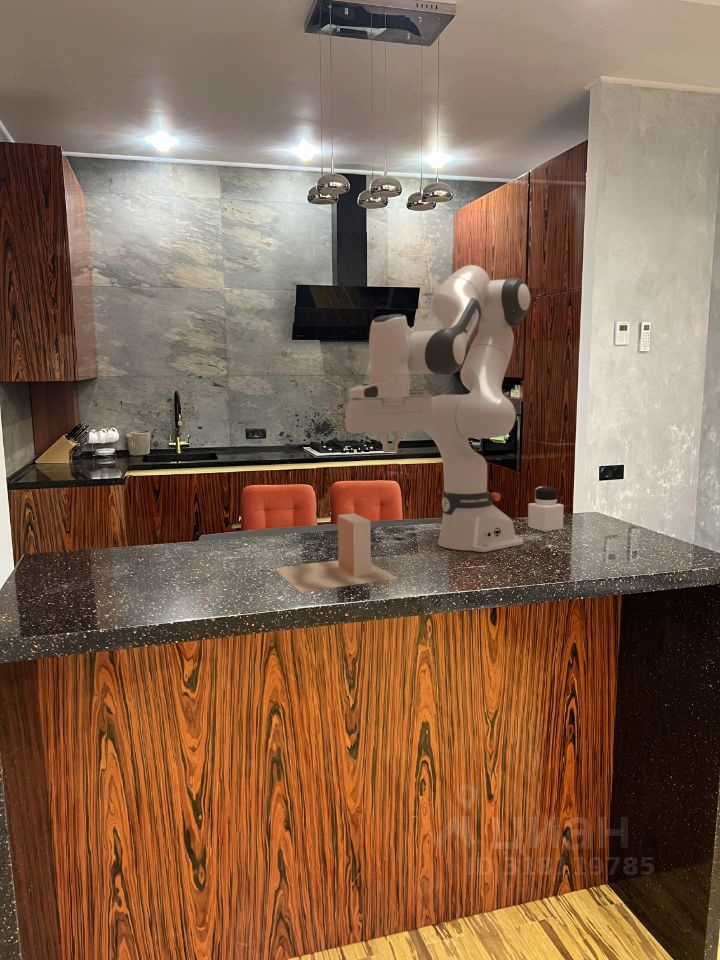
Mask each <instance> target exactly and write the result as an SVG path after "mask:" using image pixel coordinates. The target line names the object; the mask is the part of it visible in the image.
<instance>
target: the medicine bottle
mask: <svg viewBox="0 0 720 960" xmlns="http://www.w3.org/2000/svg"><path fill="white" fill-rule="evenodd" d="M534 495H535V496H534V501H535V502H532V503H530V502H529V503H528V506H527V507H528V509H527V515H528V516H527V527H530V528H529V529H532V528H533V529H532V530H536V529H537V530H538V531H540V530H541V531H540V532H545V533H546V532H547V533H548V532H553V531H559V530H564V510H565V509H564V504H562V503H557V502H558V489H557V488H556V487H553V486H538V487H536V488H535V493H534ZM552 530H553V531H552Z"/></svg>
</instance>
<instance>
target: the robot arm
mask: <svg viewBox="0 0 720 960" xmlns="http://www.w3.org/2000/svg"><path fill="white" fill-rule="evenodd" d="M531 300H532V298H531V290H530V287H529V286H528V284H527V283H526V281H525V280H524V279H521V278H515V277H508V278H506V279H494V280H490V276H489V273H487V272H486V271H485V269H483V268H482V267H481V266H478V265H475V264H467V265H465V266H462V267H461V268H458V270H456V271H454V272H453V273H452V274H451V275H449V276H448V277H447V278H445V280H444V281H443V282H442V283H441V284H440V286H439V287H438V288H437V289H436V291H435V292H434V294H433V296H432V300H431V304H432V305H431V306H432V311H433V314H434V316H435V317H436V319H437V320H438V321H439V322H440V323H441V325H443V326H445V327H447V328H441V329H433V330H432V329H430V330H414V328H411V327H410V326H409V325H408V321H407V316H406V315H405V314H401V313H393V314H387V315H380V316H377V317H375V318H374V319H373V320H372V321H371V324H370V329H369V339H368V341H369V342H368V356H369V361H370V371H369V377H368V379H369V381H367V382H365V383H362V384H360V385H357V386H353V387H351V388H350V389H349V390H348V396H349V398H350V399H349V401H348V402H347V404H346V408H345V416H344V418H345V419H344V420H345V421H344V425H345V429H346V431H347V432H348V433H350V434H367V433H370V434H371V433H377V438H378V439H379V442H380V443H381V445H382V452H383V453H397V452H398V451H399V450H398V448H399V447H398V445H399V443H400V441H401V439H402V437H403V432H408V431H410V432H411V431H424V433H426V434H427V435H428V436H429V437H430V438H431V439H432V441H433V442H434V443H435V445H436V447H437V449H438V451H439V453H440V456H441V461H442V467H443V490H442V496H441V508H442V522H441V526H440V527H441V529H440V532H439V533H440V534H439V537H438V541H437V545H438V546H440V547H442V548H446V549H448V550H449V549H450V550H458V551H473V552H480V553H481V552H482V553H486V552H490V551H496V550H501V549H505V548H509V547H510V548H511V547H515V546H520V545H524V544H525V543H524V539H523V538H522V537H520V536H518V535H516V532H515V527H514V523H513V520H512V519H511V517H509V516H508V515H506V514H505V513H504V512H503V511H501V510H500V509H499V508H498V507H497V506H495V505H494V503H493V501H496V502H499V501H500V500H501V497H502V496H501V494H500V493H499V492H491V491H488V463H487V461H486V459H485V458H484V456H482V455H481V454H480V453H478V452H477V451H475V450H474V449H473V448H472V446H471V445H470V442H469V439H493V438H499V437H504V436H507V435H508V434H509V433H510V432H511V430H512V429H513V428H514V426H515V422H516V410H515V407H514V405H513V403H512V402H511V400H510V399H509V398H507V396H505V394H504V393H503V390H502V387H503V383H504V382H503V381H504V378H505V374H506V373H507V372H506V371H507V369H508V366H509V363H510V360H511V356H512V352H513V347H514V339H515V336H514V332H513V330H512V328H516V327H518V326H519V325H520V324H521V323H522V321H523V319H524V318H525V317H526V315H527V314H528V311H529V309H530V307H531V304H532V303H531ZM478 328H479V330H478V332H477V329H478ZM476 332H477V334H476ZM475 334H476V336H475ZM474 337H475V338H474ZM473 338H474V339H473ZM472 340H473V341H472ZM471 342H472V343H471ZM470 343H471V345H470ZM469 346H470V348H469ZM468 348H469V350H468ZM467 350H468V352H467ZM460 368H461V369H460ZM459 369H460V380H461V383H462V385H463V386H464V387H465V388H466V389H467V390H468V391H469V393H466V394H439V395H435V396H432V394H431V393H430V391H428V390H427V389H425V388H418V389H417V388H411V387H410V381H411V379H410V375H441V376H442V375H443V376H444V375H445V376H451V375H454V374H455V373H457V372H458V371H459ZM389 432H392V436H394V438H393V440H392V441H391V443H389V442H388V440H387V439H386V438H387V437H388V433H389Z"/></svg>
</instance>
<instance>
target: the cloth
mask: <svg viewBox="0 0 720 960" xmlns="http://www.w3.org/2000/svg"><path fill="white" fill-rule="evenodd" d="M273 570H274V571H275V572H276V573H278V574H279V575H280V576H281V577H282V578H283V579H284V580H286V581H287V582H288V583H289V584H290V585H291V586H293V587H294V589H296V590H298V592H299V593H303V592H313V591H321V590H327V589H334V588H341V587H349V586H356V585H361V584H362V585H363V584H364V585H365V584H371V583H378V582H386V581H392V580H399V578H398V577H397V576H395V575H393V574H392V573H389V572H388V571H386V570H384V569H383V568H382V567H379V566H377V565H376V564H374V563H373V562H371V575H364V576H356V577H354V576H352V575H351V574H349V573H348V572H346V571H345V570H343V569H342V568H340V567H339V562H338V560H331V561H330V560H329V561H322V562H312V563H305V564H299V565H296V564H295V565H290V566H281V567H274V568H273Z"/></svg>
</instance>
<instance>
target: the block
mask: <svg viewBox="0 0 720 960" xmlns="http://www.w3.org/2000/svg"><path fill="white" fill-rule="evenodd" d="M371 534H372V533H371V520H370V519H368V518H365V517H364V516H361V515H359V514H357V513H348V514H338V515H337V549H338V550H337V551H338V552H337V553H338V554H337V555H338V556H337V558H338V560H337V561H338V562H339V567H340V568H342V569H343V570H345V571H346V572H348V573H349V574H351V575H352V576H354V577H356V576H364V575H371V563H372V547H371V545H372V544H371V539H372V538H371Z"/></svg>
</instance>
